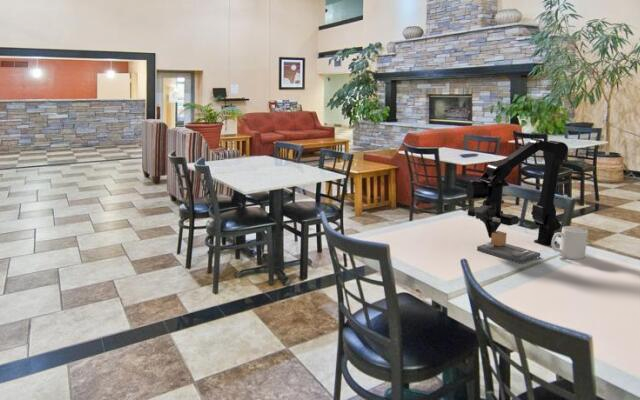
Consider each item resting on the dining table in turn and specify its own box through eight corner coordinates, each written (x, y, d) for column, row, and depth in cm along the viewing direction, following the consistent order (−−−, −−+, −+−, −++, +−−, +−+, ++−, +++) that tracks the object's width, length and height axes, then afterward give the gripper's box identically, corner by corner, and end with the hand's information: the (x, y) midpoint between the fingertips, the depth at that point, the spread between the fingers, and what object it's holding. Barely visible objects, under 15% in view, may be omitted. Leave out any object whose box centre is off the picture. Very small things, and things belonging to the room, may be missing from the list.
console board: (496, 244, 191) (496, 236, 190) (539, 257, 177) (540, 249, 176) (476, 250, 184) (477, 242, 183) (521, 263, 170) (522, 255, 169)
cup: (589, 260, 174) (592, 232, 172) (555, 260, 174) (558, 232, 171) (576, 252, 182) (580, 226, 180) (544, 252, 182) (547, 225, 180)
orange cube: (497, 241, 188) (498, 230, 187) (505, 244, 185) (506, 232, 184) (490, 243, 185) (491, 232, 184) (499, 246, 183) (500, 234, 182)
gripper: (459, 195, 187) (457, 235, 190) (503, 205, 172) (499, 247, 176) (478, 192, 193) (475, 230, 197) (521, 201, 179) (517, 242, 182)
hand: (490, 237), depth 188 cm, fingers closed
